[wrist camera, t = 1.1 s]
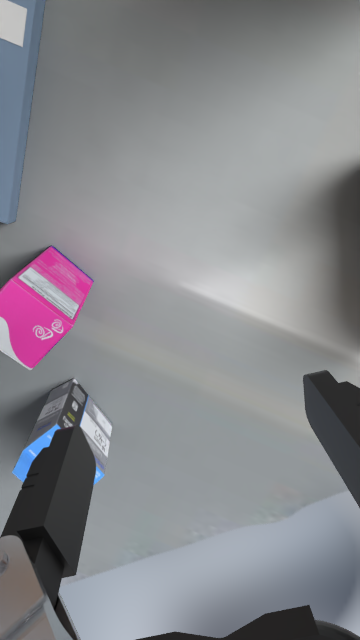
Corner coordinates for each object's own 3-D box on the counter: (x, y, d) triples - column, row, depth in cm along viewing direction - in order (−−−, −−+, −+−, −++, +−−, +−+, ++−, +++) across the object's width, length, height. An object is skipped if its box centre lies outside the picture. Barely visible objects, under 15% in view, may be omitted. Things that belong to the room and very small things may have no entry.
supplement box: (63, 316, 37) (28, 373, 26) (18, 281, 35) (-40, 328, 24) (97, 281, 35) (73, 327, 25) (51, 242, 33) (6, 275, 23)
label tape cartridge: (114, 424, 44) (101, 511, 33) (90, 436, 44) (68, 525, 33) (75, 376, 40) (45, 455, 29) (48, 390, 41) (9, 472, 30)
